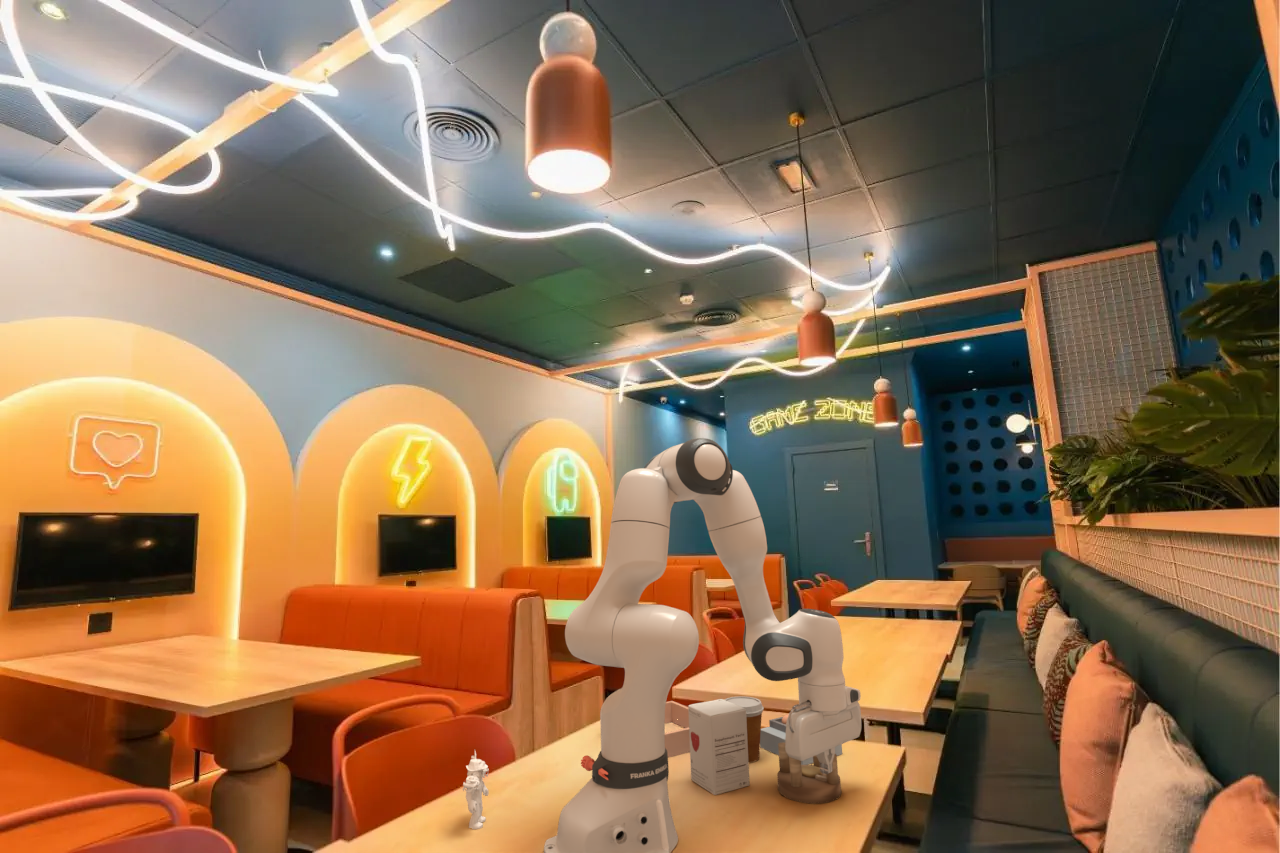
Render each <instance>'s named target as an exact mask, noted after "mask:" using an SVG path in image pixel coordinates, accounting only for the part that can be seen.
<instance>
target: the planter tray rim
mask: <svg viewBox="0 0 1280 853" xmlns="http://www.w3.org/2000/svg"><path fill="white" fill-rule="evenodd" d="M677 719H678V720H677ZM669 723H673V724H676V725H678V726H680V727H682V728H681V729H677V730H671V731H667V732H665V748H666V749H667V753H668V758H671V757H676V756H679V755H684V754H687V753H690V737H689V711H688V706H687V705H684V704H681V703H680V702H676V701H673V700H670V701H666V705H665V724H669Z"/></svg>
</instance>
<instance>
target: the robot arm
mask: <svg viewBox="0 0 1280 853" xmlns="http://www.w3.org/2000/svg"><path fill="white" fill-rule="evenodd" d="M619 481H620V482H619V485H618V487H617V490H616V495H615V498H614V503H613V507H612V514H611V520H610V528H609V537H608V544H607V550H606V556H605V562H604V565H603V569H602V571H601V575H600V576H599V578H598V581H597V582H596V585H595V586H594V588H593V590H592V591H591V593H589V596H588V597H587V598H586V599H585V600H584V601H583V602H582V603H580V604H579V605H578V606H576V607H575V609H573V610H572V611H571V613H570V614H569V617H568V618H567V621H566V624H565V629H564V639H565V644H566V647H567V649H568V651H569V652H570V654H571V655H572V656H573V657H575V658H577V659H580V660H582V661H585V662H587V663H589V664H593V665H596V666H603V667H604V666H605V667H612V668H613V667H614V668H623V669H624V681H623V685H622V687H621V688H619V689H616V690H615V691H614V692H612V693H611V694H610V695H608V697H606V698H605V700H604V702H603V704H602V705H601V708H600V712H599V713H600V717H599V719H600V749H601V750H600V751H599V753H598V755H597V758H596V760H595V759H594V758H592V757H591V756H589V755H584V756H583V757H582V759H581V760H580V765H581V767H582V768H583V769H584V770H586V771H587V772H591V778H590V779H589V780H588V781H587V782H586V783H585V785H584V786H582V788H581V789H580V790H579V791H578V792H577V793H576V794H575V795H574V796H573V797H572V799H571V800H569V801H568V802H567V803H566V804H565V805H564V806H563V808H562V810H561V812H560V815H559V819H558V824H557V825H558V826H557V833H556V835H555V836H552V837H549V838H548V839H546V840H545V842H544V846H543V853H672V851H673V850H674V849H675V848H676V846H677V844H678V841H679V834H678V832H677V830H676V826H675V823H674V818H673V813H672V809H671V802H670V798H669V797H670V796H669V788H668V780H669V757H668V753H667V749H666V748H665V733H666V732H665V726H666V725H665V724H666V723H665V705H666V702H667V698H668V695H669V692H670V690H671V687H672V686H673V683H674V681H675V680H676V679H677V677H678V676H679V675H680V673H682V672H683V671H684V670H685V669H687V668H688V667H689V666H690V665H691V663H693V660H695V657H696V655H697V653H698V650H699V644H700V634H699V629H698V627H697V624H696V621H695V619H693V618H694V617H692V616H691V614H690V613H689V612H687V611H685V610H682V609H679V608H676V607H671V606H669V605H664V604H653V603H652V604H648V603H639V601H640V599H641V596H642V594H643V592H644V591H645V589H646V588H647V587H648V586H649V585H650V584H652V583H654V582H655V581H657V580H658V579H660V578H661V577H662V576H663V575H664V574H665V571H666V568H667V566H668V555H669V554H668V551H669V540H670V539H669V538H670V527H671V526H670V525H671V512H672V507H673V505H674V504H677V503H678V502H684V501H691V500H693V501H694V502H695V503H696V504H697V505H698V506H699V508H700V510H701V511H702V512H703V513H702V514H703V516H704V520H705V525H706V528H707V532H708V535H709V538H710V541H711V543H712V546H713V548H714V550H715V553H716V554H717V557H718V559H719V561H720V562H721V564H722V565H723V568H724V569H725V570H726V571H727V574H729V576H730V577H731V578H730V579H731V580H732V583H733V584H734V589H735V592H736V594H737V598H738V601H739V605H740V609H741V611H742V616H743V620H744V628H743V629H744V631H743V640H742V645H743V651H744V654H745V656H746V657H747V659H748V660H749V662H750V663H751V664H752V666H753V667H754V669H755V671H756V672H757V674H759V675H760V676H761V677H762V678H764V679H766V680H769V681H772V682H782V681H788V680H793V679H794V680H795V679H797V685H798V686H797V687H798V688H797V689H798V704H797V703H796V704H794V705H793V706H792V707H791V708H792V709H791V710H790V712H789V713H788V714H787V715H788V718H787V723H786V737H785V749H786V753H787V754H788V756H789V757H791V758H794V759H797V760H800V761H804V760H806V759H809V758H811V757H813V756H815V755H816V756H817V758H818V760H819V762H820V763H819V764H820V772H821V773H824V774H829V773H831V772H832V771H833V769H832V762H833V758H834V755H835V747H836V746H839V745H841V744H842V745H843V744H846V743H848V742H850V741H853V740H854V739H857V738H859V737H860V735H861V732H862V712H861V705H860V702H859V701H860V700H861V691H860V689H858V688H855V687H851V686H847V685H846V678H845V676H844V672H843V662H844V659H845V658H844V647H843V646H844V643H843V636H842V632H841V627H840V624H839V621H838V620H837V618H836V617H835V616H833V614H831V613H828V612H827V611H823V610H819V609H813V608H802V609H798V611H797V612H795V613H794V614H793V615H792V616H791V617H789V618H787V619H785V620H784V621H779V619H778V617H777V616H776V614H775V613H774V609H773V606H772V602H771V598H770V595H769V592H768V589H767V585H766V582H765V578H764V577H765V576H764V563H765V559H766V555H767V554H768V544H767V535H766V530H765V526H764V522H763V518H762V516H761V515H762V514H761V512H760V509H759V507H758V506H759V505H758V504H757V501H756V499H755V497H754V494H753V492H752V489H751V487H750V486H749V483H748V482H747V480H746V479H745V476H744V475H743V474H742V473H741V472H739V471H737V470H734V469H733V465H732V464H731V463H730V460H729V457H728V455H727V454H726V452H725V450H724V449H723V448H722V447H721V445H719V444H718V443H717V442H716V441H715V440H713V439H710V438H704V437H700V438H693V439H689V440H686V441H685V442H682V443H679V444H677V445H672V446H671V447H667V449H665V450H663V451H662V452H660V453H658V454H656V455H654V456H653V457H652V458H650V459H649V460H648V462H646V464H645V466H644V467H642V468H635V469H632V470H629V471H628V472H626V473H625V474H624V475H623V476H622V477H621V479H620V480H619Z"/></svg>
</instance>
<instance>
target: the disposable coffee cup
mask: <svg viewBox="0 0 1280 853" xmlns="http://www.w3.org/2000/svg"><path fill="white" fill-rule="evenodd" d="M724 700H726V701H728V702H730V703H734V704H736V705H738V706H740V707H742V708H745V709H746V719H747V741H748V762H749V763H753V762H756V761H759V759H760V750H761V749H760V748H761V747H760V733H761V729H762V717H763V716H762V714H763V711H764V706H763V704H762V700H760V699H759V698H756V697H751V696H744V695H743V696H741V695H740V696H731V697H727V698H725V699H724Z"/></svg>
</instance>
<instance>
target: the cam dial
mask: <svg viewBox="0 0 1280 853" xmlns="http://www.w3.org/2000/svg"><path fill="white" fill-rule="evenodd" d="M778 750H779V755H778V761H779V762H778V764H779V770H778V772H777V774H776V775H777V777H776V778H777V790H778V792H779V794H781V796H783V797H785V798H786V799H788V800H791V801H795V802H799V803H805V804H825V803H830V802H833V801H835V800H837V799H839V798H840V797H841V795H842V786H841V785H842V784H841V777H840V775H839V771H838V770H839V768H838V756H837V755H836V754H835V755H834V758H833V762H832V769H833V771H832V772H831V773H829V774H824V773H821V772H820V764H819V763H820V762H819V760H818V758H817V756H816V755H815V756H813V763H812V764H808V765H801V761H800V760H797V759H794V758H791V757H789V756H788V754H787V753H786V749H785V743H784V742H782V743H778Z"/></svg>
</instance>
